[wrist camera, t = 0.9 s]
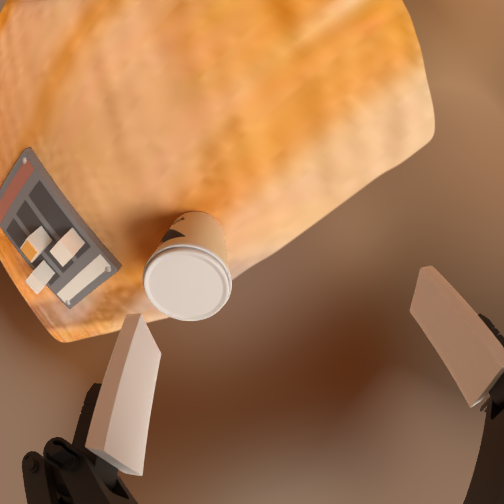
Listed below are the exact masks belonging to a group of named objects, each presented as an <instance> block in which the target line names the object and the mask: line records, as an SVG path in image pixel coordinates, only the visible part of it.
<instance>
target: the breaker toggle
mask: <svg viewBox="0 0 504 504" xmlns="http://www.w3.org/2000/svg"><path fill="white" fill-rule="evenodd" d="M51 241H52V239H51V238H50V236H49V235H48V234H47V232H46V231H45V230H44V229H43V227H42V226H40V227H39V228H38V229H37V230H36V231H34V232H33V233H32V234H31V235H30V236H28V237H27V239H26V240H25V242H24V243H23V244H22V246H21V247H20V249H21V251H22V252H23V253H24V254H25V256H26V257H27V258H28V259H29V261H31V263H32V262H33V261H34V260H35V259H36V258H37V257H38V256H39V255H40V254H41V253H42V252H43V251H44V250H45V249H46V247H47V246H48V245H49V244H50V243H51Z"/></svg>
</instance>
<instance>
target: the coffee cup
mask: <svg viewBox="0 0 504 504" xmlns="http://www.w3.org/2000/svg"><path fill="white" fill-rule="evenodd" d="M143 285H144V289H145V292H146V295H147V297H148V298H149V300H150V302H151V303H152V304H153V305H154V306H155V307H156V308H157V309H158V310H159V311H161V312H162V313H164V314H165V315H167V316H169V317H172V318H175V319H179V320H184V321H196V320H202V319H205V318H208V317H210V316H212V315H214V314H215V313H217V312H218V311H219V310H220V309H221V308H222V307H223V306H224V305H225V303H226V302H227V300H228V298H229V296H230V293H231V288H232V281H231V275H230V272H229V265H228V257H227V249H226V242H225V235H224V231H223V228H222V226H221V225H220V223H219V222H218V221H217V220H216V219H215V218H214V217H212V216H211V215H209V214H207V213H204V212H198V211H193V212H188V213H185V214H183V215H181V216H179V217H178V218H177V219H176V220H175V221H174V222H173V224H172V225H171V226H170V228H169V229H168V231H167V232H166V234H165V235H164V237H163V239H162V240H161V242H160V243H159V245H158V246H157V248H156V250H155V251H154V253H153V254H152V255H151V257H150V258H149V259H148V261H147V263H146V265H145V267H144V271H143Z"/></svg>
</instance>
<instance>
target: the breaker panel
mask: <svg viewBox="0 0 504 504" xmlns="http://www.w3.org/2000/svg"><path fill="white" fill-rule="evenodd" d="M40 226H42V227H43V229H44V230H45V231H46V232H47V234H48V235H49V236H50V238H51V239H52V241H51V243H50V244H49V245H48V246H47V247H46V249H45V250H44V251H43V252H42V253H41V254H40V255H39V256H38V257H37V258H36V259H35V260H34V261H33V262H32V263H31V261H29V259H28V258H27V257H26V256H25V254H24V253H23V252H22V251H21V249H20V247H21V246H22V244H23V243H24V242H25V240H26V239H27V237H28V236H30V235H31V234H32V233H33V232H34V231H36V230H37V229H38V228H39V227H40ZM0 227H1V228H2V230H3V231H4V233H5V234H6V236H7V237H8V238H9V240H10V241H11V242H12V244H13V245H14V246H15V248H16V249H17V250H18V252H19V253H20V254H21V255H22V257H23V258H24V259H25V260H26V262H27V263H28V264H29V265H30V267H31V268H32V269H33V270H34V271H33V272H32V273H31V275H30V276H29V277H28V278H27V280H26V281H25V282H26V283H27V284H28V285H29V286H30V287H31V289H32V290H33V291H34V292H35V293H36V294H38V293H39V292H40V291H41V290H42V289H43V288H44V286H45V285H47V286H48V287H49V288H50V289H51V290H52V292H53V293H54V294H55V295H56V296H57V297H58V298H59V299H60V300H61V301H62V302H63V303H64V304H65V305H66V306H67V307H68V308H69V309H71V308H72V307H73V306H75V305H76V304H77V303H78V302H79V301H81V300H82V299H83V298H84V297H86V296H87V295H88V294H89V293H91V292H92V291H93V290H94V289H96V288H97V287H98V286H99V285H101V284H102V283H103V282H105V281H106V280H107V279H108V278H110V277H111V276H112V275H114V274H115V273H116V272H117V271H119V269H120V267H121V266H122V265H121V264H120V263H119V262H118V261H117V260H116V258H115V257H114V256H113V255H112V254H111V253H110V252H109V251H108V249H107V248H106V247H105V246H104V245H103V244H102V242H101V241H100V240H99V239H98V238H97V237H96V235H95V234H94V233H93V232H92V231H91V229H90V228H89V227H88V226H87V224H86V223H85V222H84V221H83V219H82V218H81V217H80V216H79V214H78V213H77V212H76V211H75V209H74V208H73V207H72V205H71V204H70V203H69V201H68V200H67V199H66V197H65V196H64V195H63V193H62V192H61V191H60V189H59V188H58V187H57V185H56V184H55V182H54V181H53V180H52V178H51V177H50V175H49V174H48V172H47V171H46V170H45V168H44V167H43V165H42V164H41V162H40V161H39V159H38V158H37V156H36V155H35V153H34V151H33V150H32V148H31V147H30V148H27V149H25V150H24V151H23V153H22V154H21V156H20V157H19V159H18V160H17V162H16V163H15V165H14V166H13V168H12V170H11V171H10V173H9V175H8V176H7V178H6V180H5V181H4V183H3V185H2V187H1V188H0Z"/></svg>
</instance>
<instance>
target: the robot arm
mask: <svg viewBox="0 0 504 504" xmlns="http://www.w3.org/2000/svg"><path fill="white" fill-rule="evenodd" d="M410 312H411V314H412V315H413V317H414V318H415V320H416V321H417V322H418V324H419V325H420V327H421V328H422V330H423V331H424V332H425V334H426V336H427V337H428V338H429V340H430V341H431V343H432V345H433V346H434V347H435V349H436V351H437V352H438V354H439V355H440V357H441V358H442V360H443V361H444V363H445V365H446V366H447V368H448V370H449V371H450V373H451V375H452V376H453V378H454V379H455V381H456V383H457V385H458V386H459V388H460V390H461V392H462V393H463V395H464V397H465V399H466V401H467V402H468V404H469V406H470V407H472V406H473V405H475V404H477V403H478V402H480V401H482V400H483V398H484V397H485V396H486V395H487V394H488V392H489V394H490V397H489V398H488V399H487V401H486V402H485V403H484V404H483V405H482V407H481V409H480V411H482V410H483V409H484V408H485V407H486V406H487V408H486V410H485V412H486V419H485V425H484V431H483V436H482V441H481V446H480V450H479V454H478V458H477V462H476V466H475V470H474V473H473V477H472V480H471V483H470V486H469V489H468V492H467V495H466V498H465V500H464V503H463V504H504V337H503V336H502V335H500V332H499V331H498V330H497V329H495V326H494V325H493V324H492V322H491V321H490V320H489V319H487V318H486V317H485V316H483V315H481V314H478V315H477V314H476V313H475V311H474V310H473V309H472V308H471V307H470V306H469V305H468V304H467V302H466V301H465V300H464V299H463V298H462V297H461V296H460V295H459V293H458V292H457V291H456V290H455V289H454V288H453V287H452V286H451V285H450V284H449V283H448V282H447V281H446V280H445V278H444V277H443V276H442V275H441V274H440V273H439V272H438V271H437V270H436V269H435V268H434V267H433V266H427V267H423V268H420V272H419V276H418V280H417V284H416V289H415V292H414V296H413V300H412V304H411V307H410ZM160 357H161V352H160V351H159V349H158V347H157V345H156V343H155V341H154V339H153V337H152V335H151V333H150V331H149V329H148V327H147V325H146V323H145V321H144V318H143V316H142V314H130V315H126V318H125V320H124V323H123V325H122V328H121V331H120V334H119V336H118V339H117V341H116V344H115V347H114V350H113V353H112V356H111V359H110V361H109V364H108V368H107V370H106V373H105V376H104V379H103V383H102V384H97V383H94V384H93V385H92V387H91V388H90V390H89V391H88V392H87V395H86V398H85V401H84V406H83V407H82V410H81V414H80V417H79V421H78V424H77V428H76V431H75V435H74V439H73V442H72V445H71V444H70V443H69V442H67V441H66V440H64V439H63V438H60V437H56V438H52V439H51V440H50V441H48V442H47V443H46V445H45V447H44V452H43V455H44V457H43V456H41V455H40V454H39V453H37V452H35V451H34V452H33V451H31V452H28V453H27V454H26V455H25V456H24V458H23V461H22V471H23V478H24V486H25V492H26V498H27V503H28V504H138V503H137V501H136V500H135V499H134V497H133V496H132V494H131V493H130V492H129V490H128V489H127V487H126V486H125V484H124V483H123V481H122V480H121V478H120V477H119V476H118V475H117V472H118V469H119V470H121V471H122V472H124V473H127V474H134V475H140V476H142V475H143V465H144V457H145V448H146V441H147V433H148V426H149V420H150V413H151V407H152V401H153V395H154V389H155V383H156V378H157V372H158V367H159V362H160Z"/></svg>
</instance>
